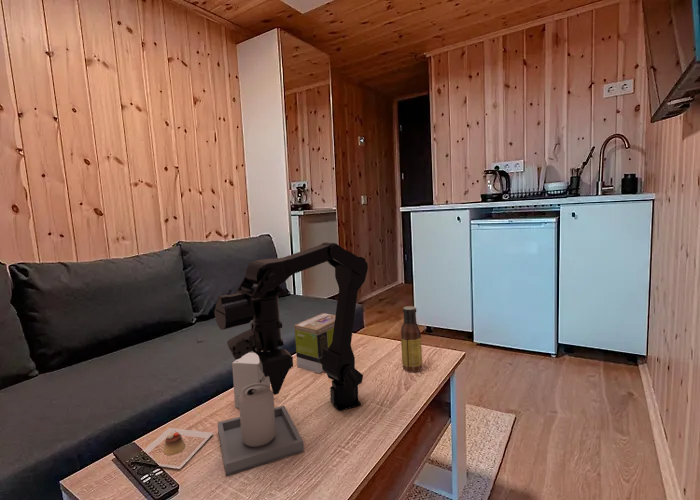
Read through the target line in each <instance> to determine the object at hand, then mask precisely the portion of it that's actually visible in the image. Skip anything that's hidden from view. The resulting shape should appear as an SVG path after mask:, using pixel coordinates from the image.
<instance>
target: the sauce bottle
mask: <svg viewBox="0 0 700 500" xmlns="http://www.w3.org/2000/svg"><path fill="white" fill-rule="evenodd" d="M402 309H403V310H402V312H403V323H402V325H401V328H400V334H401V335H400V336H401V337H400V341H401V363H402V364H401V365H402V368H403V370H404V369H405V371H407V372H409V371H417V372H419V371H421V370H422V369H423V354H422V333H421V330H420V328H419V325H418V322H417V316H416V315H417V314H416V313H417V308H416V306H413V305H412V306H411V305H408V306H404V307H402ZM421 368H422V369H421ZM420 369H421V370H420ZM418 370H419V371H418Z"/></svg>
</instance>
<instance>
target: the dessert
mask: <svg viewBox="0 0 700 500" xmlns="http://www.w3.org/2000/svg"><path fill="white" fill-rule="evenodd" d="M213 435H214V432H210V431H201V430H192V429H191V430H190V429H184V428H183V429H182V428H175V427H168V428H167V429H166V430H164V432H162V433H161V434H160V435H159V436H158V437H157V438H155V439H154V441H152V442H151V443H150V444H148V445H147V446H146V447H145V448H144V449H142V451H144V452H146V453H147V455H148V454H149V453H151V451H153V449H155V448H156V447H157V446H158V445H159V444H160V443H161V442H163V441H164V445H163V446H164V447H163V450H162V453H163V455H164V456H166V457H167V456H168V457H170V456H175V455H178V454H180V453H182V452H183V451H184V450H185V449H186V443H185V441H184V439H183V437H182V436H185V437H186V436H187V437H194V438H201V439H203V440H202V441H201V443H200V444H198V445H197V446H196V448H195V449H194V450H193V451H191V453H190V454H189V455H188V456H187V457H186V458H185V459H184V461H183V462H181V464H180V465H173V464H165V463H159V462H156V463H157V464H158V465H159V466H158V467H163V468H169V469H177V470H180V469H182V468H183V467H184V466H185V465H186V463H188V461H189V460H190V459H191V458H192V457H193V456H194V455H195V454H196V453H197V452H198V451H199V449H200V448H201V447H202V446H203V445H204V444H205V443H206V442H207V441H208V440H209V439H210V438H212V436H213Z"/></svg>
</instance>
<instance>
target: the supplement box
mask: <svg viewBox="0 0 700 500" xmlns="http://www.w3.org/2000/svg"><path fill="white" fill-rule="evenodd" d="M231 366H232V381H233V383H232V384H233V393H234V394H233V396H234V408H235V409H236V408H237V409H240V408H239V397H240V395H241V392H242V390H243V388H245V387H246V386H248V385H251V384H255V383H265V384H267V385H269V386H270V387H271V384H270V380H269V376H267V377H265V376H264V373H263V372H262V370H261V368H260V362H259V357H258V355H257V354H256V353H254V352H249V353H247V354H245V355H244V356H242V357H241V358H240V359H237V360H235V359H234V361H233V362H232V363H231Z"/></svg>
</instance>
